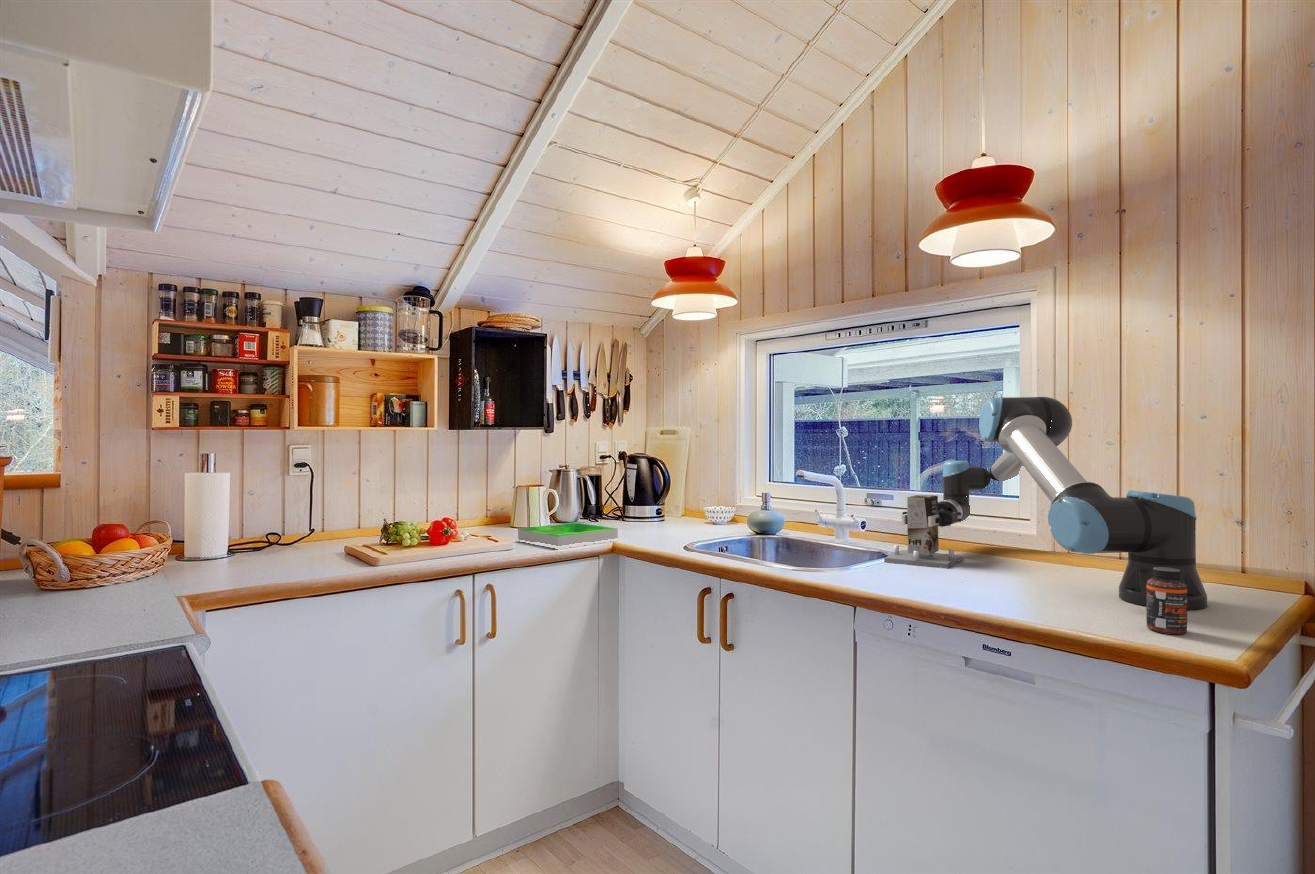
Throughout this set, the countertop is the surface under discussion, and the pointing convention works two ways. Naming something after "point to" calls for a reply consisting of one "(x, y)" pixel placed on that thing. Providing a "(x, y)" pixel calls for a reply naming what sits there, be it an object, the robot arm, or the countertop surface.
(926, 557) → the cradle
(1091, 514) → the robot arm
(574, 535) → the tray
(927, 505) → the coffee box
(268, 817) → the countertop surface
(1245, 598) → the countertop surface
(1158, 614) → the supplement bottle
